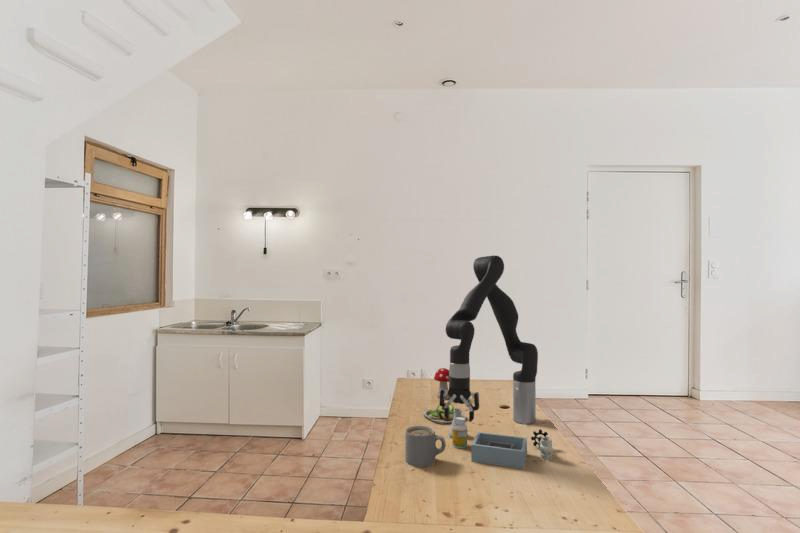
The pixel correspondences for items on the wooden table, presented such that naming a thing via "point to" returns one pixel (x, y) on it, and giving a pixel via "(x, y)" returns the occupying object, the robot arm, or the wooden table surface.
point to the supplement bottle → (459, 433)
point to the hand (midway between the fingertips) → (459, 419)
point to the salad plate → (441, 415)
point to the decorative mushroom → (442, 380)
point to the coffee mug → (422, 446)
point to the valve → (543, 445)
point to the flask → (456, 414)
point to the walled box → (499, 450)
